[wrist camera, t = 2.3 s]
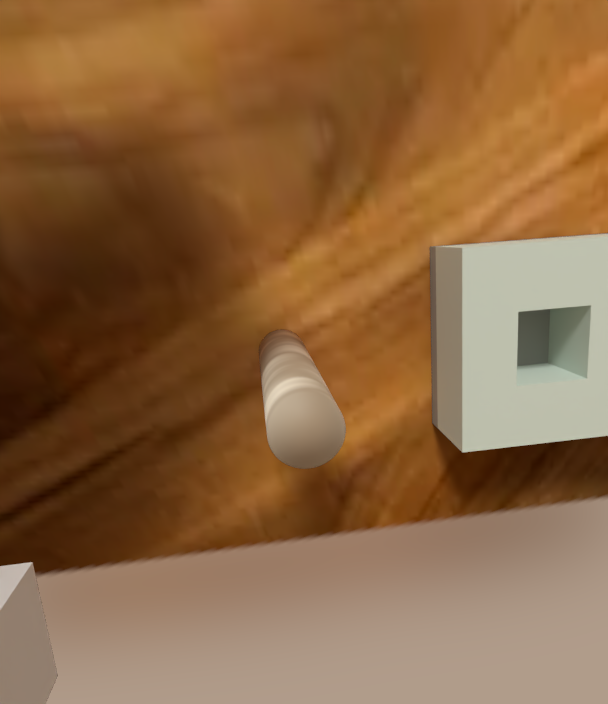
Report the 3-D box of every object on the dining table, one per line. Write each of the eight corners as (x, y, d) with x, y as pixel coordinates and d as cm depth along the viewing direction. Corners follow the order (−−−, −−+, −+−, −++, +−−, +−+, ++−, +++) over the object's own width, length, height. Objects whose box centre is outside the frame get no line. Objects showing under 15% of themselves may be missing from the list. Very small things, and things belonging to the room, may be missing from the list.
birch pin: (260, 376, 33) (270, 472, 19) (256, 331, 32) (263, 398, 19) (306, 372, 33) (347, 463, 20) (303, 327, 32) (343, 390, 19)
